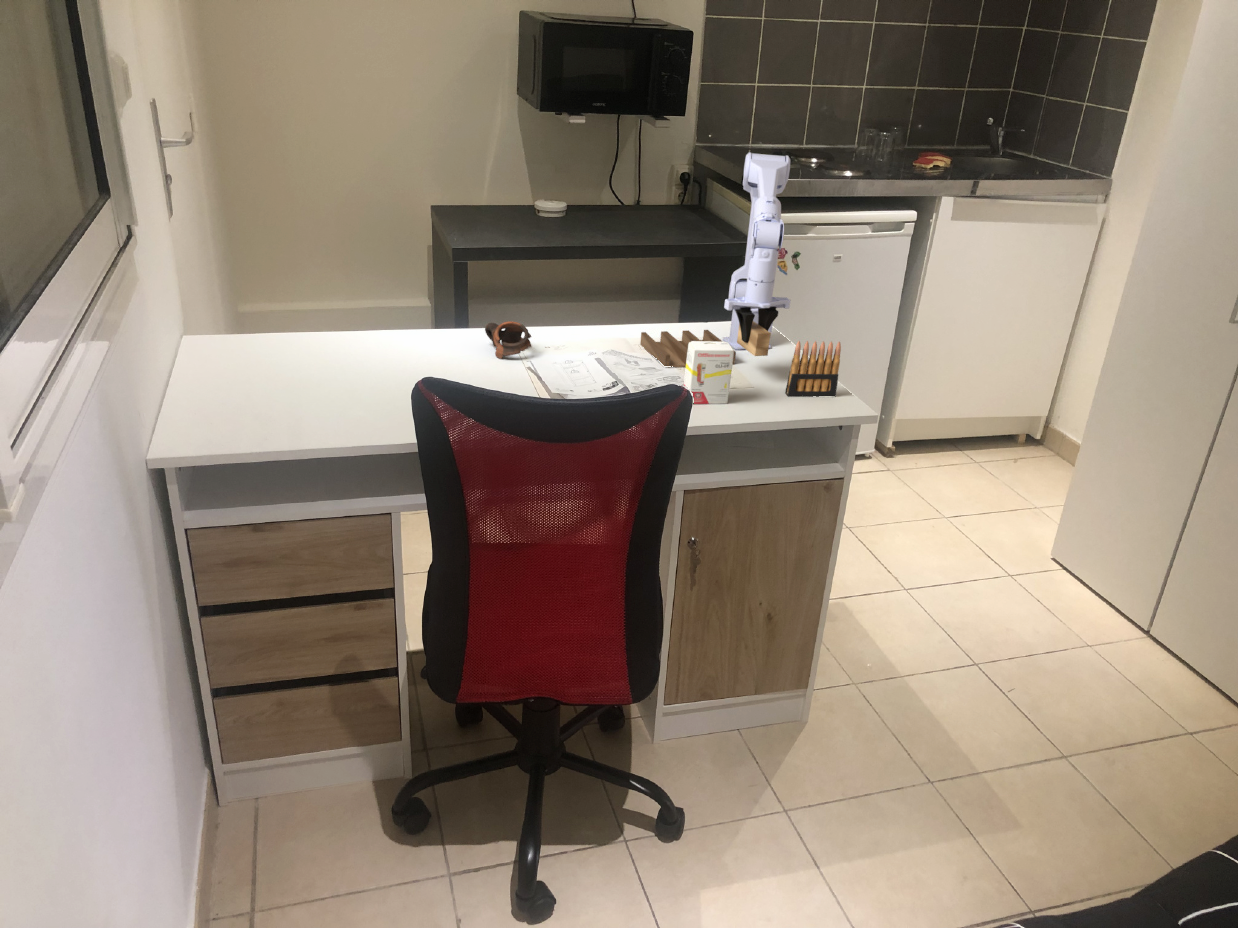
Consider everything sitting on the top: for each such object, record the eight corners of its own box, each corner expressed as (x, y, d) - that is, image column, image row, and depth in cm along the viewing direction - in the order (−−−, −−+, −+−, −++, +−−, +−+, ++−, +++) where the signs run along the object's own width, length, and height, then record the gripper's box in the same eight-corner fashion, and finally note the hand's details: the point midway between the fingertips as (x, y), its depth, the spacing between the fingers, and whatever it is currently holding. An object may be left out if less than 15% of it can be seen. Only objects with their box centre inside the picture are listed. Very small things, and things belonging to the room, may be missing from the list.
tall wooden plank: (749, 342, 210) (752, 320, 208) (767, 355, 202) (770, 333, 200) (736, 342, 209) (739, 320, 207) (754, 356, 201) (757, 333, 199)
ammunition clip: (832, 393, 203) (842, 340, 198) (835, 396, 201) (845, 343, 196) (784, 393, 201) (793, 339, 196) (787, 396, 200) (796, 342, 194)
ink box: (687, 404, 191) (693, 349, 186) (681, 395, 196) (687, 341, 191) (728, 404, 193) (735, 349, 188) (721, 395, 198) (728, 341, 192)
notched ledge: (706, 341, 229) (707, 329, 228) (734, 364, 215) (735, 351, 214) (640, 344, 224) (641, 332, 222) (664, 368, 210) (665, 355, 209)
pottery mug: (539, 352, 215) (540, 328, 209) (516, 379, 211) (516, 355, 204) (495, 329, 218) (494, 305, 211) (471, 356, 213) (470, 331, 206)
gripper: (737, 285, 193) (729, 348, 199) (800, 283, 198) (791, 345, 204) (723, 275, 199) (716, 337, 205) (784, 274, 204) (776, 335, 210)
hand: (752, 341), depth 205 cm, fingers closed on tall wooden plank, 3 cm apart
